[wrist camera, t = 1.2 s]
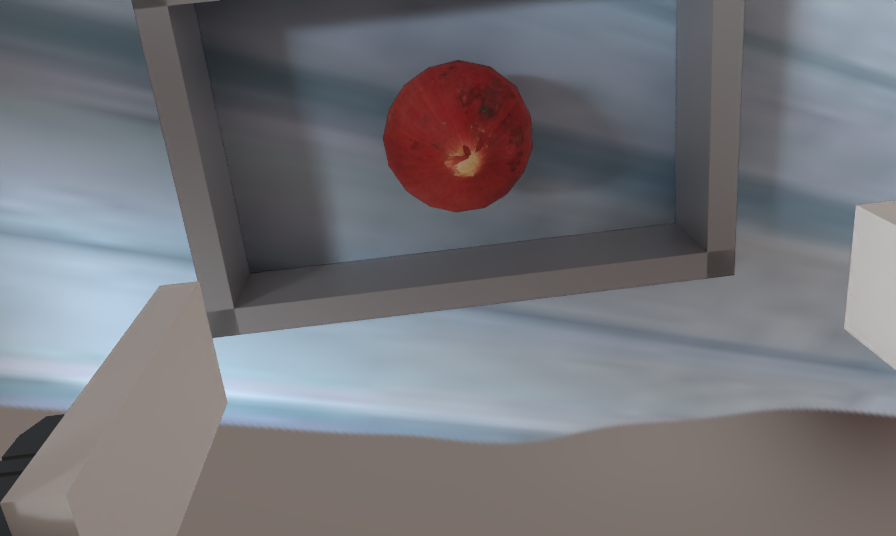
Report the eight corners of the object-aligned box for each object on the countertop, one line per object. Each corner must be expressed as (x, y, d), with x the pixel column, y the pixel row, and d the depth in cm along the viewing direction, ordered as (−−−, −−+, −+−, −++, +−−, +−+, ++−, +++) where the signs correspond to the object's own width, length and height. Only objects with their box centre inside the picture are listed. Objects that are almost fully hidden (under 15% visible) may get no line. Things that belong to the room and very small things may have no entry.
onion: (436, 24, 33) (449, 41, 25) (543, 103, 34) (586, 141, 27) (359, 137, 34) (351, 185, 27) (465, 208, 36) (486, 272, 28)
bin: (229, 300, 37) (211, 338, 33) (156, -28, 31) (125, -26, 28) (699, 244, 37) (734, 275, 33) (706, -86, 32) (748, -93, 28)
